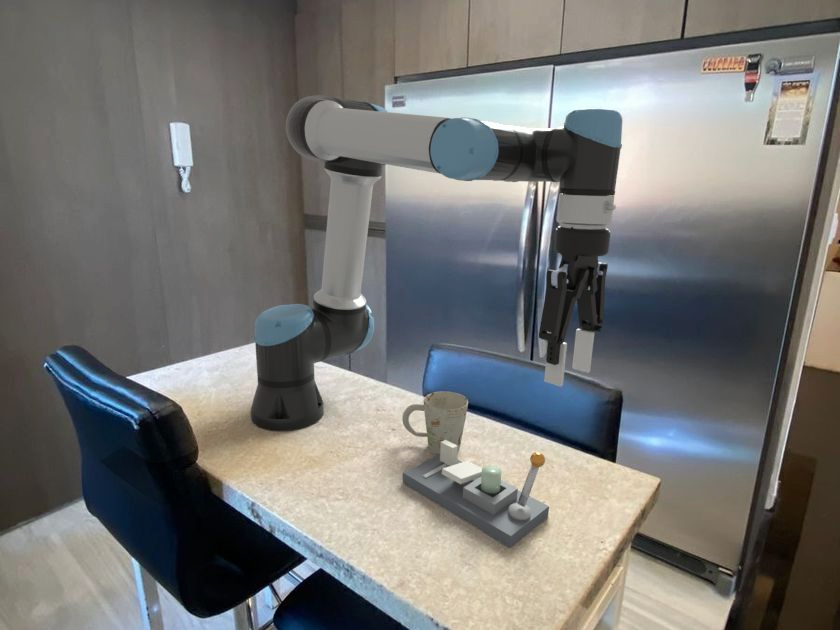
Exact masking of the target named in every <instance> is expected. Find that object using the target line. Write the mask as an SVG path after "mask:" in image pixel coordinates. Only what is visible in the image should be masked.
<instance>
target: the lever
mask: <svg viewBox="0 0 840 630" xmlns="http://www.w3.org/2000/svg"><path fill="white" fill-rule="evenodd" d="M529 460H530V467H529V471H528V473H527V475H526V478H525V481H524V484H523V486H522V490H521V491H520V492H521V495H520V497H519V500H518V503H517V504H519V505H521V506H523V507H525V505H526V503H527V500H528V497H529V496H530V494H531V492H532V489H533V486H534V483H535V481H536V478H537V476H538V473H539V469H540V468H542V467H543V466H544V465H545V463H546V457H545V455H544V454H543V453H542V452H540V451H534V452H533V453H532V454H531V455H530V459H529Z"/></svg>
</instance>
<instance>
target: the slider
mask: <svg viewBox="0 0 840 630" xmlns="http://www.w3.org/2000/svg"><path fill="white" fill-rule="evenodd" d="M457 459H458V452H457V445H455V444H453V443H451V442H449V441H447V440H444V441H442V442H441V447H440V461H441V462H443V463H445V464H447V465H449V466H452V465H456V464H457Z"/></svg>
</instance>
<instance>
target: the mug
mask: <svg viewBox="0 0 840 630" xmlns="http://www.w3.org/2000/svg"><path fill="white" fill-rule="evenodd" d="M468 407H469V400H468V398H467V397H466V396H464V395H463V394H461V393H458V392H454V391H447V390H446V391H434V392H431V393H428V394H427V395H425V396H424V398H423V404H421V403H420V404H419V403H412V404H410V405H409V406H407V407H406V408H405V409H404V411H403V413H402V419H401V421H402V425H403V426H404V428H405V429H406V430H407V431H408V432H409V433H410V434H411V435H413V436H415V437H420V438H421V437H422V438H426V439H427V448H428V450H429V451H430V452H431V453H432V454H435V455H438V454H440V447H441V442H442V441H444V440H447V441H449V442H451V443H453V444H455V445H457V453H459V451H460V448H461V444H462V439H463V433H464V427H465V423H466V419H467V418H466V417H467V413H468V412H467V411H468ZM414 411H419V412H424V419H425V428H426V429H425V430H426V432H423V431H417V430H415V429H414V428H413V427H412V425H411V424H410V421H409V419H410V416H411V414H412V413H413V412H414Z"/></svg>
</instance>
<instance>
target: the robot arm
mask: <svg viewBox="0 0 840 630" xmlns="http://www.w3.org/2000/svg"><path fill="white" fill-rule="evenodd" d="M563 124H564V125H563V126H560V127H554V128H549V127H548V128H546V127H545V128H529V127H528V128H526V127H521V126H516V125H515V126H514V125H508V124H507V125H506V124H502V123H501V124H499V123H496V122H490V121H489V122H488V121H483V120H481V119H476V118H471V117H452V118H451V117H443V116H432V115H421V114H412V113H399V112H398V113H397V112H391V111H389V112H388V110H386V109H385V108H384V107H383V106H380V105H377V104H375V103H374V104H373V103H371V102H367V101H360V100H352V99H347V98H338V97H334V96H332V97H331V96H328V95H321V94H319V95H318V94H317V95H308V96H306V97H303V98H301V99H299V100H297V101H296V102H295V103H294V104H293V106H291V108H290V110H289V111H288V114H287V116H286V121H285V132H286V137H287V139H288V142H289V143H290V145H291V147H292V148H293V150H295V152H296V153H297V154H299V155H300V156H302V158H303V157H304V158H305V159H308V160H310V161H313V162H314V161H315V162H320V163H324V166H323V167H324V168H323V169H324V171H325V172H326V174H327V175H328V176H329V178H330V188H329V196H328V197H329V198H328V209H327V221H326V232H325V245H324V253H323V254H324V256H323V265H322V266H323V268H322V279H321V280H322V281H321V289H319V290H318V291H317V292H315V293H314V294H313V301H312V302H313V303H312V308H311V306H309V305H306V304H303V303H290V304H282V305H281V304H280V305H275V306H273V307H270V308H267V309H266V310H264V311H262V312H260V313H259V314H258V316H257V318H256V319H255V322H254V334H253V338H254V342H255V358H256V374H257V386H256V389H255V393H254V396H253V400H252V402H251V403H252V404H251V407H250V419H251V422H252V423H253V425H255V427H258V428H260V429H263V430H268V431H271V432H272V431H275V432H287V431H295V430H301V429H305V428H308V427H310V426H313V425H314V424H316V423H318V422H319V421H320V420H321V419H322V418H323V416H324V413H325V412H324V407H325V406H324V401H323V398H322V396H321V393H320V391H319V387H318V385H317V383H316V379H315V364H316V363H320V362H323V361H327V360H329V359H333V358H336V357H340V356H343V355H345V356H346V355H350V354H354V352H356V351H359V350H361V349H363V348H364V347H366V346H367V345H368V344H369V342H370V341H371V339H372V337H373V334H374V330H375V318H374V316H372V314H373V312H372V310H371V308H370V306H369V305H368V304H367V299H366V297H365V296H364V295H363V294H362V293H361V292H362V283H363V277H364V276H363V274H364V269H365V267H364V266H365V259H366V257H365V256H366V250H367V249H366V248H367V241H368V232H369V225H370V224H369V223H370V216H371V207H372V197H373V192H374V189H373V188H374V185H375V183H377V182H378V181H379V180H381V178H382V176H383V169H384V168H383V167H384V166H386V165H387V166H393V167H399V168H405V169H411V170H417V171H422V172H427V173H428V172H429V173H434V174H440V175H442V176H444V177H446V178H447V179H452V180H455V181H464V182H472V181H494V182H495V181H496V182H497V181H499V182H508V183H511V182H512V183H518V182H528V183H529V182H532V183H533V182H539V183H540V182H543V183H545V182H552V183H559V188H558V189H559V190H558V200H557V211H556V218H555V219H556V222H557V223H559V226H557V227H556V228H555V231H554V232H555V234H554V243H553V244H554V246H553V249H554V252H555V253H557V254H560V255H561V260H560V263H559V266H558V269H556V270H554V269H548V270H547V271H546V289H545V295H544V302H543V306H542V313H541V319H540V326H539V331H538V338H539V339H541V340H543V341H546V342H547V346H546V348H547V349H546V356H545V357H546V359H545V369H544V380H543V382H545V383H548V384H551V385H555V386H557V387H559V388H560V387H563V386H564V381H565V379H564V378H565V369H566V368H565V367H566V359H567V350H568V342H565V338H566V335H567V332H568V329H569V325H570V321H571V318H572V316H573V315H572V314H573V311H574V309H575V305H577V313H578V322H579V328H577V329H576V330H575V337H574V347H573V348H574V349H573V358H572V367H571V369H573V370H576V371H579V372H582V373H587V374H589V373H590V372H591V367H592V360H593V359H592V357H593V349H594V342H595V341H594V339H595V333H596V332H598V333H601V332H602V330H603V323H604V315H605V314H604V313H605V296H606V295H605V294H606V293H605V291H606V277H607V273H608V266H609V264H608V263H606V262H599V257H604V256H606V255H607V254H609V250H610V240H611V231H610V229H609V228H607V226H609V225H611V224H612V221H613V213H614V210H616V207H617V206H616V203H614V202H615V195H616V185H617V179H618V170H619V165H620V164H619V163H620V156H621V149H622V146H623V144H622V136H623V133H622V132H623V116H622V114H621V113H620V112H619V111H617V110H614V109H610V108H593V107H592V108H581V109H580V108H579V109H574V110H571V111H569V112H568V113H567V114H566V116H565V121H564V123H563Z"/></svg>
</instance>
